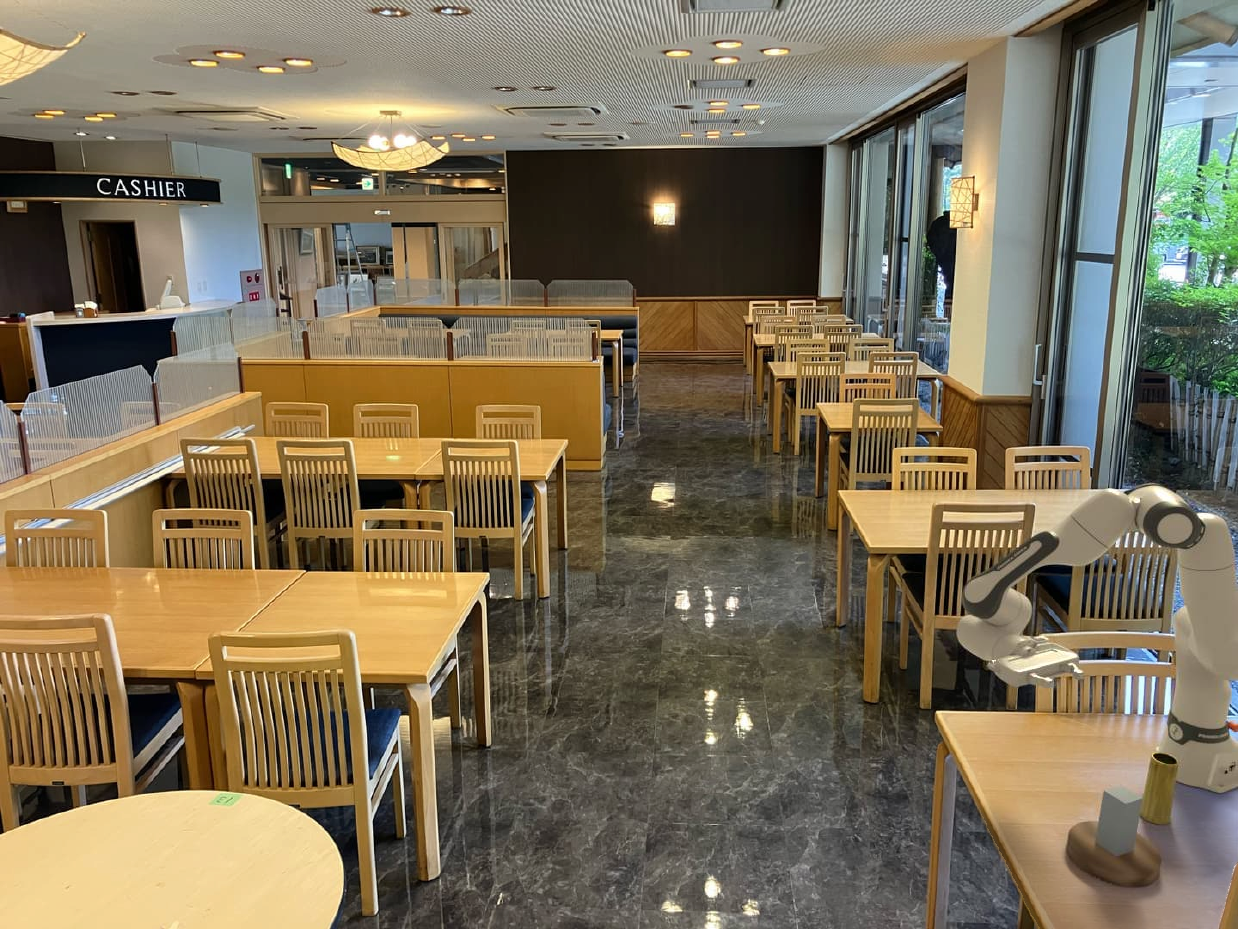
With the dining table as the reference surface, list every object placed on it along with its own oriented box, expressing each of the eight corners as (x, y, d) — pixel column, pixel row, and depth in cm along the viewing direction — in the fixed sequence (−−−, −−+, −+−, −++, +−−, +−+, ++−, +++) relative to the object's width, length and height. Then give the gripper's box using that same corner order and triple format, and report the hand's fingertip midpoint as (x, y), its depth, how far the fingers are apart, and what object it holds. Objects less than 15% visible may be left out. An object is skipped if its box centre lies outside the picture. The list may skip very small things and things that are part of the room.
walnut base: (1115, 828, 209) (1117, 816, 208) (1179, 879, 193) (1181, 866, 192) (1048, 840, 204) (1050, 827, 203) (1107, 893, 188) (1110, 880, 188)
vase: (1158, 828, 209) (1169, 769, 205) (1132, 812, 214) (1142, 754, 211) (1176, 820, 212) (1187, 762, 208) (1150, 805, 217) (1160, 748, 213)
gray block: (1112, 836, 201) (1120, 784, 198) (1133, 850, 197) (1143, 798, 194) (1095, 842, 199) (1103, 790, 196) (1116, 857, 195) (1125, 804, 192)
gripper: (983, 651, 219) (1033, 677, 207) (1049, 635, 227) (1100, 658, 215) (981, 676, 220) (1030, 704, 208) (1046, 659, 229) (1097, 685, 217)
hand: (1066, 681), depth 212 cm, fingers open, 8 cm apart
